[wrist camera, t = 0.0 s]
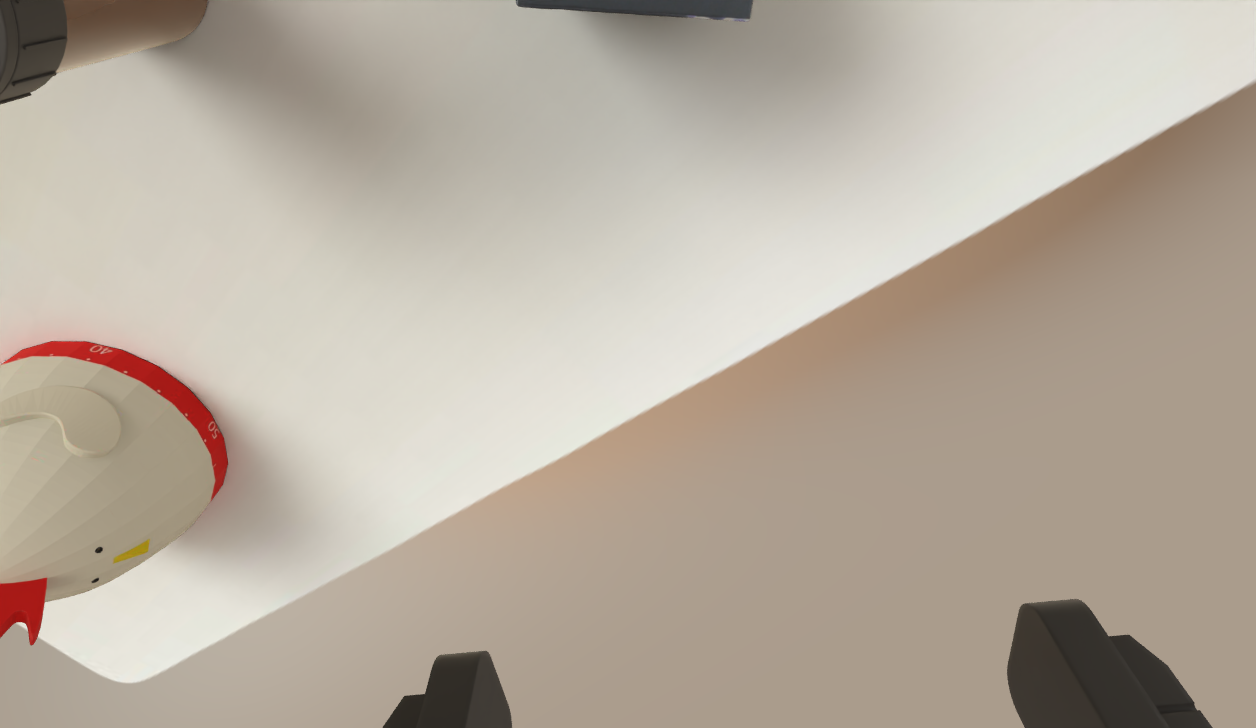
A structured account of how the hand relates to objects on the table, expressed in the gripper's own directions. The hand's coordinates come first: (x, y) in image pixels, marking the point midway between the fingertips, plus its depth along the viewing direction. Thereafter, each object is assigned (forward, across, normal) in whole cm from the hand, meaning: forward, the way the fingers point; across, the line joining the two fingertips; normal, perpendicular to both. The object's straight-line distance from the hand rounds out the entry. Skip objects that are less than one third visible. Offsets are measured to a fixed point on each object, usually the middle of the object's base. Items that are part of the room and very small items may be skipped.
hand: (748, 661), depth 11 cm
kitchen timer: (+30, +36, +13) cm, 48 cm away
